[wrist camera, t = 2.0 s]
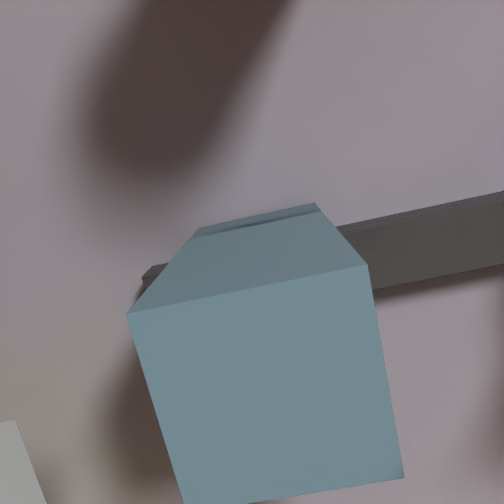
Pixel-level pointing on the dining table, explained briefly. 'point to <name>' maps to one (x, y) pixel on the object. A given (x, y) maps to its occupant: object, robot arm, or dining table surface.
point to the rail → (423, 241)
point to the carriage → (267, 362)
